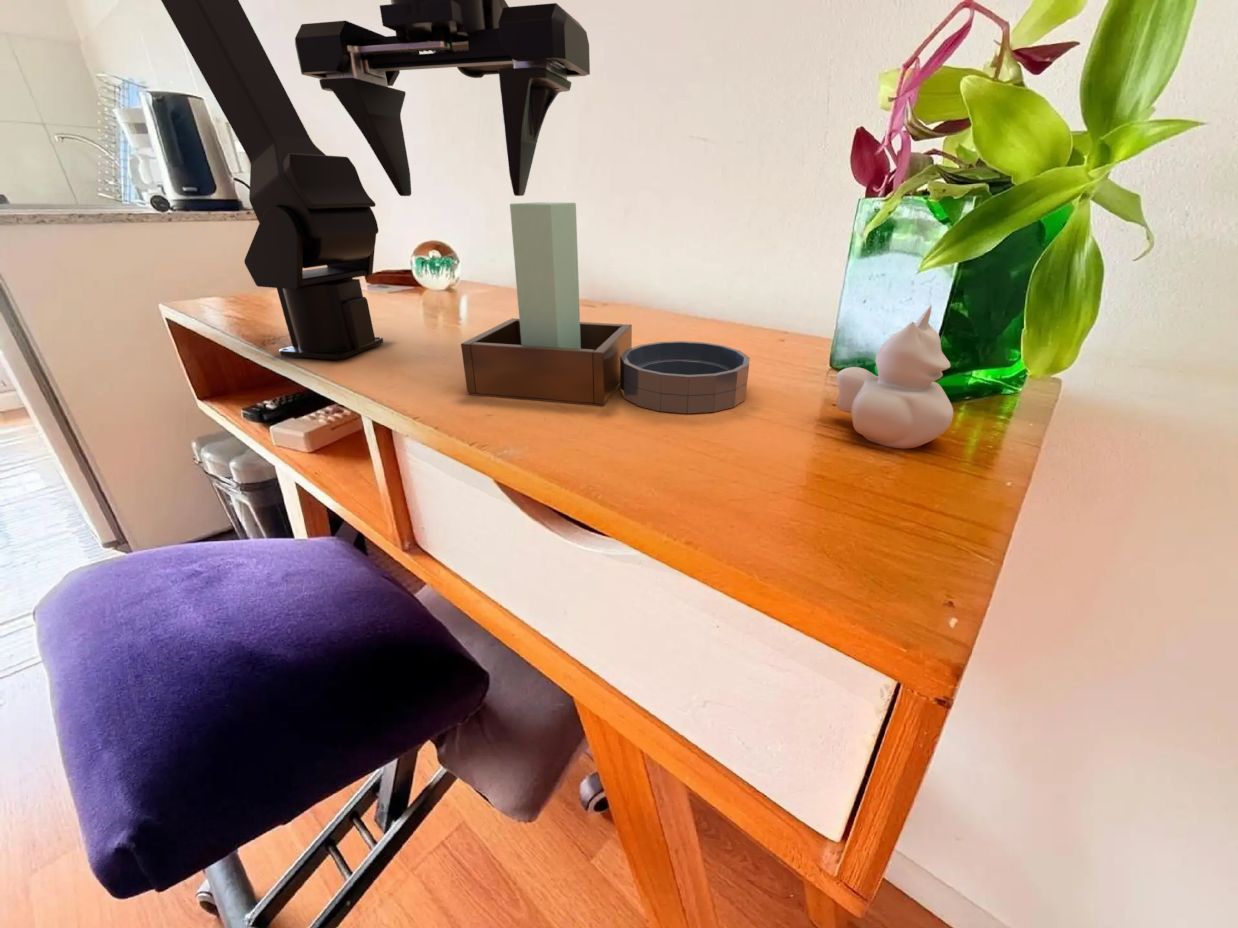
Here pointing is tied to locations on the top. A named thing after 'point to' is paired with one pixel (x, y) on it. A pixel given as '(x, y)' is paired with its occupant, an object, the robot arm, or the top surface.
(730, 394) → the bowl
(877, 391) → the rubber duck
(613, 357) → the holder
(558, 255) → the tall sage green pillar
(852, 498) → the top surface
